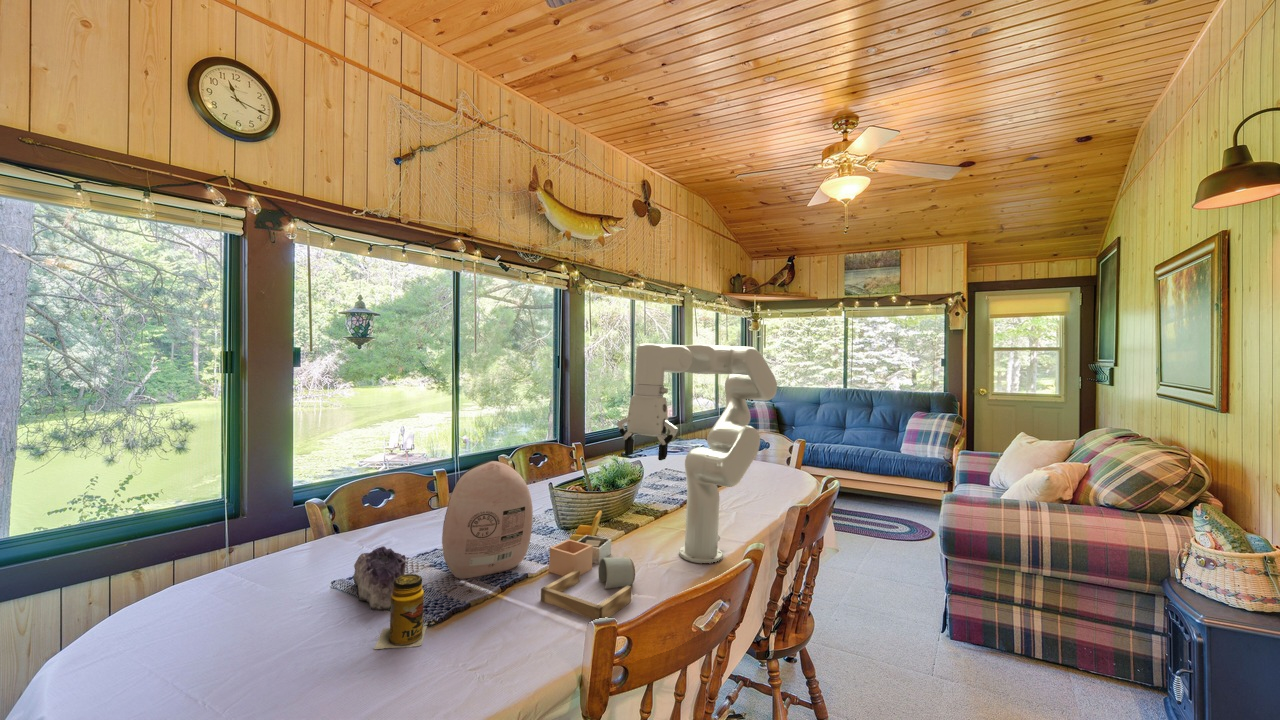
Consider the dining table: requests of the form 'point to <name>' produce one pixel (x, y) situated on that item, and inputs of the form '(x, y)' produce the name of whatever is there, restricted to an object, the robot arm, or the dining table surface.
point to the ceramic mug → (616, 572)
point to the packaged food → (487, 521)
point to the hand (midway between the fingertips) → (645, 457)
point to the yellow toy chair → (587, 529)
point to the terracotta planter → (570, 557)
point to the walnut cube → (593, 543)
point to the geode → (378, 576)
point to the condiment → (405, 614)
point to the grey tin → (598, 552)
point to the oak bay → (580, 606)
